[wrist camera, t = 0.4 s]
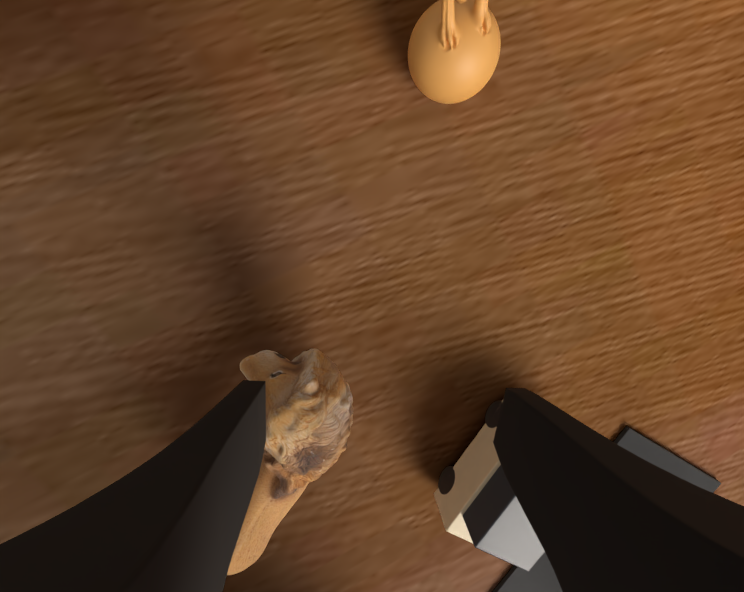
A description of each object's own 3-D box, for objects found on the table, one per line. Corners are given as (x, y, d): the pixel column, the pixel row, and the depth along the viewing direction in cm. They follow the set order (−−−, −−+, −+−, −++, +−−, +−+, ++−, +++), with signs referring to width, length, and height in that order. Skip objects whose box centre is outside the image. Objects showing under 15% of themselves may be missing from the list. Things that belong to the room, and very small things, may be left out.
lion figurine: (278, 294, 20) (231, 360, 11) (368, 326, 21) (389, 410, 12) (202, 510, 23) (117, 698, 14) (285, 530, 24) (253, 718, 15)
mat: (547, 673, 29) (549, 678, 29) (455, 637, 27) (456, 642, 27) (717, 480, 26) (721, 483, 25) (626, 425, 24) (629, 428, 24)
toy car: (479, 510, 25) (517, 591, 19) (430, 486, 24) (456, 564, 19) (550, 416, 23) (612, 476, 18) (502, 388, 23) (551, 442, 17)
